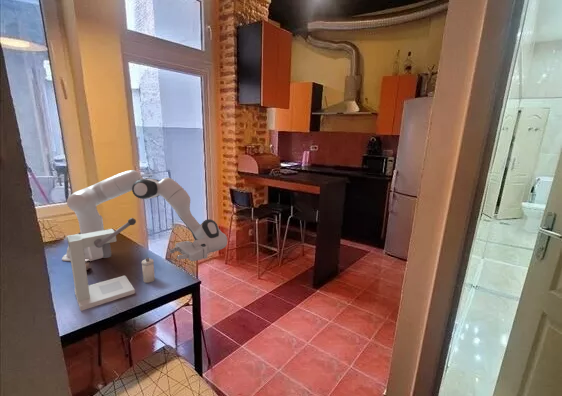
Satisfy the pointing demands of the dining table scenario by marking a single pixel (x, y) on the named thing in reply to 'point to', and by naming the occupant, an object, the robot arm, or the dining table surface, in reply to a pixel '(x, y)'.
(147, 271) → the white lidded bottle
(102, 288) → the press
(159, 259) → the dining table surface
